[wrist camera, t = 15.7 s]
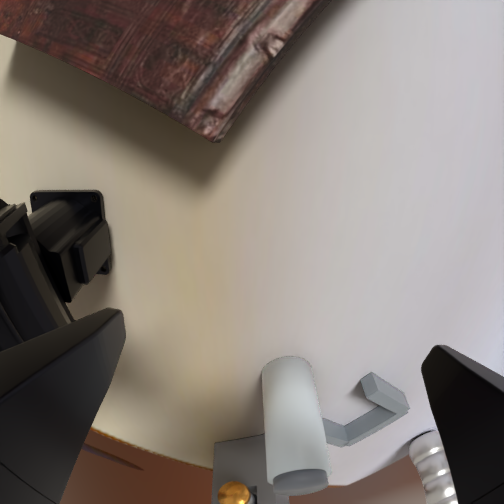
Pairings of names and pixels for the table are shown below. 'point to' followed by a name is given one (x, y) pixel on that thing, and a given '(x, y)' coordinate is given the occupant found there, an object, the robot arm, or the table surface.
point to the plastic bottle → (433, 468)
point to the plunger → (236, 494)
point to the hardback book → (168, 48)
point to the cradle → (369, 413)
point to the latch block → (244, 468)
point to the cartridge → (293, 428)
